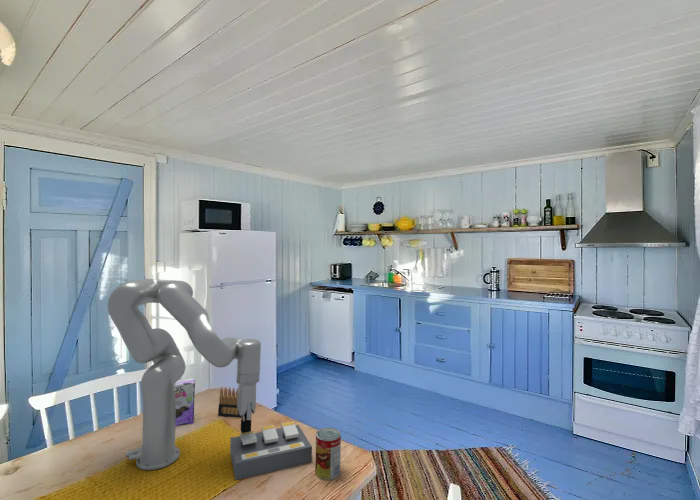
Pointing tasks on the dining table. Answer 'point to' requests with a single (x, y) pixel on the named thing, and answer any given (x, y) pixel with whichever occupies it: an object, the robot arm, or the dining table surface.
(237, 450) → the switch unit
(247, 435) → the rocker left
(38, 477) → the dining table surface
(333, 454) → the canned food
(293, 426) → the rocker right
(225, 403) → the ammunition clip
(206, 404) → the dining table surface
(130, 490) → the dining table surface
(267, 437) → the rocker middle
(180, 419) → the candy box
